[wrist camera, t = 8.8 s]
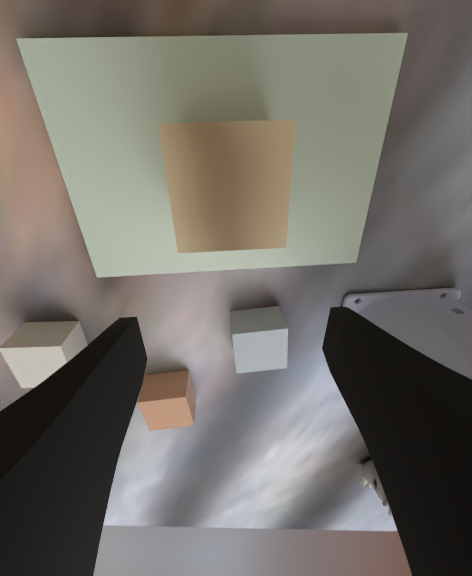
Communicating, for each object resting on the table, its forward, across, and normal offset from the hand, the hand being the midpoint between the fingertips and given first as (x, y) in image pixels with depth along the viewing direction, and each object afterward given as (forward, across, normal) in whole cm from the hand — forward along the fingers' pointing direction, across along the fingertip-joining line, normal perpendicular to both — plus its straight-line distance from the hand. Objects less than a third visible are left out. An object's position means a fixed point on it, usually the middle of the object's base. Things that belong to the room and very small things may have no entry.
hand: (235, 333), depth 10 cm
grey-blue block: (+10, -2, +8) cm, 12 cm away
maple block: (+8, 0, -4) cm, 10 cm away
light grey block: (+10, +14, +8) cm, 18 cm away
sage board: (+9, 0, -4) cm, 10 cm away
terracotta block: (+10, +6, +14) cm, 18 cm away
